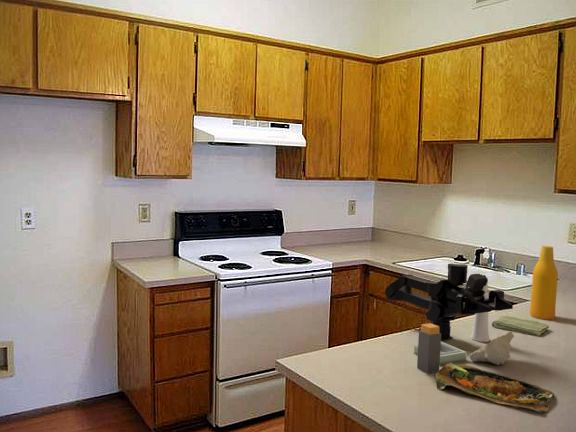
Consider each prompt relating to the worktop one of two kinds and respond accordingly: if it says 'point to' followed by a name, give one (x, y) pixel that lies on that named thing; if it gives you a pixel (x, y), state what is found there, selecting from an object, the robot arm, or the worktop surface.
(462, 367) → the prepared meal
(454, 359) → the box
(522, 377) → the worktop surface
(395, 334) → the worktop surface
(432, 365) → the plug
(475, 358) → the cheese
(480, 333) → the cosmetic bottle
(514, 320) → the washcloth
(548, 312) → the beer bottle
